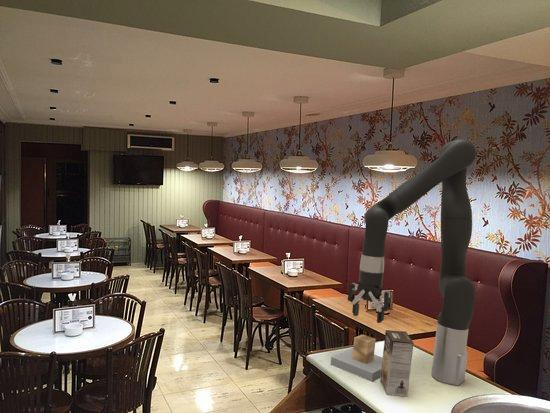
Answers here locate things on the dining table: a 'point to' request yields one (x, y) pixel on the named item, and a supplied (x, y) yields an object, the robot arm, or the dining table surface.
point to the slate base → (358, 365)
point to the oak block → (363, 349)
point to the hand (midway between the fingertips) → (367, 318)
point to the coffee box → (396, 362)
